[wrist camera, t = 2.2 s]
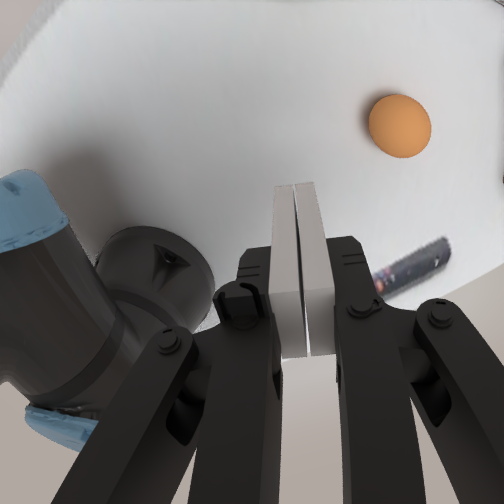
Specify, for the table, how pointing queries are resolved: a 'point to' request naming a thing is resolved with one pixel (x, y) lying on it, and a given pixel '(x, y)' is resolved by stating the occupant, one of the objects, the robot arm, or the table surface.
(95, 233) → the table surface
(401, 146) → the ball
